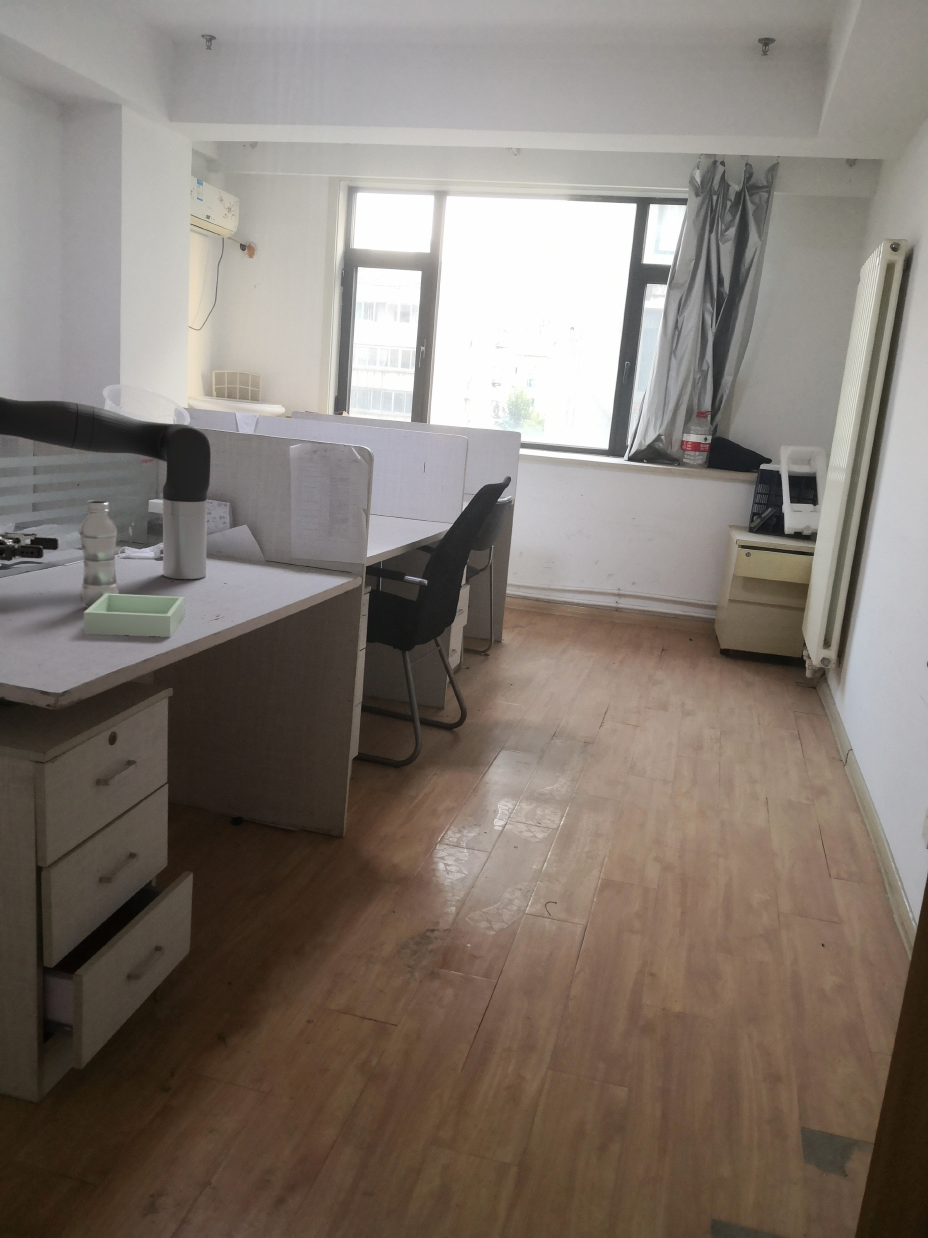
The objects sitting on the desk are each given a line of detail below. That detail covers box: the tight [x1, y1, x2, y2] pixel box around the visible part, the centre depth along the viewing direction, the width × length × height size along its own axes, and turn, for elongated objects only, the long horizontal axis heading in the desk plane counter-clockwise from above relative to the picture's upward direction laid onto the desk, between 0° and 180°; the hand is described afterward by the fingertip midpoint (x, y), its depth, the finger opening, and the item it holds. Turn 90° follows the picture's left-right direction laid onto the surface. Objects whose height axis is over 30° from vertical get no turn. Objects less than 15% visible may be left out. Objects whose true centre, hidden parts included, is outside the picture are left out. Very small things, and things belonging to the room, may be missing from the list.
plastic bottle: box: [78, 500, 120, 608], centre depth 162 cm, size 6×7×20 cm
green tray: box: [83, 593, 186, 638], centre depth 155 cm, size 14×14×4 cm
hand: (50, 548), depth 160 cm, fingers open, 8 cm apart
